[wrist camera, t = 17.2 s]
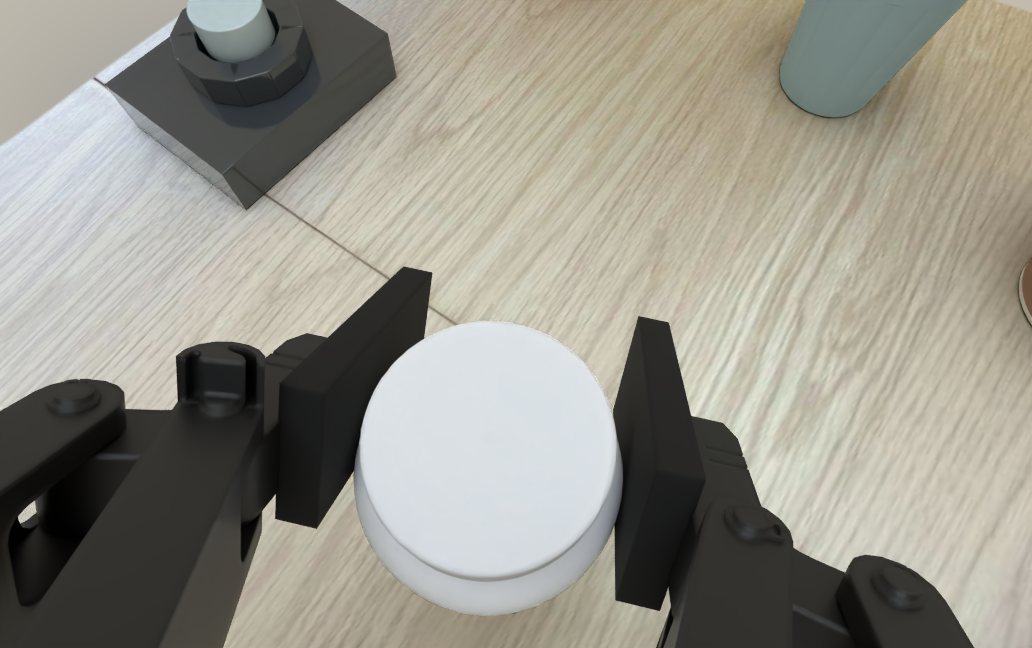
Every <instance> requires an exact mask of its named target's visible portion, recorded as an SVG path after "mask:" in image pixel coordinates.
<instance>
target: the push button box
mask: <svg viewBox="0 0 1032 648" xmlns="http://www.w3.org/2000/svg"><path fill="white" fill-rule="evenodd" d="M263 1H264V4H265V6H266V9H267V11H268V14H269V16H270V19H271V21H272V23H273V26H274V29H275V39H274V42H273V44H272V46H271V47H269V48H268V49H267V50H266V51H264V52H263V53H262V54H261V55H259V56H258V57H256V58H252V59H248V60H245V61H241V62H237V63H230V62H222V61H219V60H216V59H215V58H213V57H212V56H211V55H210V54H209V53H208V52H207V51H206V49H205V47H204V45H203V43H202V42H201V40H200V38H199V36H198V34H197V33H196V31H195V29H194V27H193V25H192V24H191V22H190V20H189V18H188V16H187V7H186V8H185V9H184V10H182V12H181V13H180V15H179V17H178V19H177V22H176V24H175V26H174V28H173V30H172V32H171V34H170V37H169V38H167V39H166V40H165V41H163V42H162V43H160V44H159V45H158V46H156V47H155V48H154V49H152V50H151V51H150V52H148V53H147V54H145V55H144V56H143V57H141V58H140V59H139V60H137V61H136V62H135V63H133V64H132V65H130V66H129V67H128V68H126V69H125V70H124V71H122V72H121V73H120V74H118V75H117V76H116V77H114V78H113V79H111V80H110V81H109V82H107V83H106V84H105V86H106V87H107V88H108V90H109V91H110V92H111V93H112V95H113V96H114V97H115V98H116V100H117V101H118V102H119V104H120V105H121V106H122V107H123V109H124V110H125V111H126V112H127V114H128V115H129V116H130V117H131V119H132V120H133V121H134V122H135V124H136V125H137V126H138V127H140V128H141V129H142V130H143V131H145V132H146V133H147V134H149V135H150V136H151V137H153V138H154V139H155V140H156V141H158V142H159V143H160V144H162V145H163V146H164V147H165V148H167V149H168V150H169V151H171V152H172V153H173V154H175V155H176V156H177V157H178V158H180V159H181V160H182V161H184V162H185V163H186V164H187V165H189V166H190V167H191V168H193V169H194V170H195V171H197V172H198V173H199V174H200V175H202V176H203V177H204V178H206V179H207V180H208V181H209V182H211V183H212V184H213V185H215V186H216V187H217V188H218V189H220V190H221V191H222V192H224V193H225V194H226V195H228V196H229V197H230V198H231V199H233V200H234V201H235V202H237V203H238V204H239V205H240V206H242V207H243V208H244V209H247V208H249V207H250V206H251V205H252V204H253V203H254V202H255V201H257V200H258V199H259V198H260V197H261V196H262V195H263V194H264V193H266V192H267V191H268V190H269V189H270V188H271V187H272V186H273V185H275V184H276V183H277V182H278V181H279V180H280V179H281V178H282V177H284V176H285V175H286V174H287V173H288V172H289V171H290V170H291V169H293V168H294V167H295V166H296V165H297V164H298V163H299V162H300V161H302V160H303V159H304V158H305V157H306V156H307V155H308V154H310V153H311V152H312V151H313V150H314V149H315V148H316V147H317V146H319V145H320V144H321V143H322V142H323V141H324V140H325V139H326V138H328V137H329V136H330V135H331V134H332V133H333V132H334V131H335V130H337V129H338V128H339V127H340V126H341V125H342V124H343V123H344V122H346V121H347V120H348V119H349V118H350V117H351V116H352V115H353V114H355V113H356V112H357V111H358V110H359V109H360V108H361V107H363V106H364V105H365V104H366V103H367V102H368V101H369V100H370V99H372V98H373V97H374V96H375V95H376V94H377V93H378V92H379V91H381V90H382V89H383V88H384V87H385V86H386V85H387V84H388V83H390V82H391V81H392V80H393V79H394V78H395V77H396V71H395V66H394V61H393V57H392V52H391V47H390V42H389V37H388V34H387V33H386V32H385V31H383V30H381V29H380V28H378V27H377V26H375V25H374V24H372V23H371V22H369V21H367V20H366V19H364V18H363V17H361V16H360V15H358V14H356V13H355V12H353V11H352V10H350V9H349V8H347V7H345V6H344V5H342V4H341V3H339V2H338V1H336V0H263Z"/></svg>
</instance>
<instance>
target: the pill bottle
mask: <svg viewBox="0 0 1032 648" xmlns="http://www.w3.org/2000/svg"><path fill="white" fill-rule="evenodd" d="M622 488H623V464H622V457H621V451H620V447H619V442H618V439H617V436H616V428H615V423H614V418H613V414H612V410H611V407H610V405H609V402H608V399H607V397H606V395H605V393H604V390H603V388H602V386H601V384H600V383H599V382H598V380H597V379H596V377H595V375H594V374H593V372H592V371H591V370H590V369H589V367H588V366H587V365H586V364H585V363H584V362H583V361H582V360H581V359H580V358H579V357H578V356H577V355H576V354H575V353H574V352H573V351H572V350H571V349H569V348H568V347H567V346H565V345H564V344H563V343H561V342H560V341H558V340H556V339H555V338H553V337H551V336H550V335H548V334H546V333H543V332H541V331H539V330H536V329H533V328H531V327H527V326H524V325H520V324H516V323H510V322H503V321H476V322H470V323H463V324H459V325H455V326H452V327H449V328H446V329H443V330H441V331H438V332H436V333H434V334H432V335H430V336H428V337H426V338H425V339H423V340H421V341H420V342H418V343H417V344H415V345H414V346H413V347H411V348H410V349H408V350H407V351H406V352H405V353H404V354H403V355H402V356H401V357H399V358H398V359H397V360H396V361H395V362H394V363H393V364H392V365H391V366H390V368H389V369H388V371H387V372H386V373H385V375H384V376H383V377H382V378H381V380H380V382H379V383H378V385H377V387H376V389H375V390H374V392H373V395H372V397H371V399H370V401H369V404H368V406H367V410H366V413H365V416H364V420H363V424H362V428H361V436H360V440H359V444H358V448H357V453H356V458H355V467H354V493H355V500H356V507H357V511H358V515H359V519H360V522H361V525H362V528H363V530H364V533H365V535H366V537H367V539H368V541H369V543H370V545H371V547H372V549H373V550H374V552H375V553H376V555H377V556H378V558H379V559H380V561H381V562H382V563H383V565H384V566H385V567H386V568H387V569H388V570H389V571H390V572H391V574H392V575H394V577H396V578H397V579H398V580H399V581H400V582H401V583H403V584H404V585H405V586H406V587H408V588H409V589H410V590H412V591H413V592H414V593H415V594H417V595H419V596H421V597H422V598H424V599H425V600H427V601H429V602H431V603H434V604H436V605H438V606H440V607H443V608H446V609H449V610H452V611H455V612H460V613H464V614H469V615H477V616H498V615H506V614H514V613H517V612H520V611H524V610H527V609H530V608H533V607H536V606H538V605H540V604H542V603H544V602H546V601H548V600H550V599H552V598H554V597H555V596H557V595H559V594H560V593H562V592H563V591H565V590H566V589H568V588H569V587H570V586H571V585H572V584H574V583H575V582H576V581H577V580H578V579H579V578H580V577H581V576H582V575H583V574H584V573H585V572H586V571H587V570H588V569H589V567H590V566H591V565H592V564H593V563H594V561H595V560H596V559H597V557H598V556H599V554H600V553H601V551H602V550H603V548H604V546H605V544H606V543H607V541H608V539H609V537H610V534H611V532H612V530H613V527H614V525H615V522H616V519H617V515H618V512H619V508H620V503H621V498H622Z"/></svg>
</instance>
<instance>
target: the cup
mask: <svg viewBox="0 0 1032 648" xmlns="http://www.w3.org/2000/svg"><path fill="white" fill-rule="evenodd" d="M966 1H967V0H806V2H805V4H804V7H803V9H802V12H801V15H800V17H799V20H798V22H797V25H796V28H795V30H794V33H793V35H792V38H791V41H790V43H789V46H788V48H787V51H786V53H785V56H784V59H783V61H782V64H781V67H780V82H781V85H782V88H783V89H784V91H785V93H786V94H787V96H788V97H789V98H790V99H791V100H792V101H793V102H794V103H795V104H797V105H798V106H799V107H801V108H802V109H804V110H806V111H808V112H810V113H813V114H816V115H820V116H824V117H843V116H848V115H851V114H853V113H855V112H857V111H858V110H860V109H862V108H863V107H864V106H865V105H866V104H867V103H868V102H869V101H870V100H871V99H872V98H873V97H874V96H875V95H876V94H877V93H878V92H879V91H880V90H881V89H882V88H883V87H884V86H885V85H886V84H887V83H888V82H889V81H890V80H891V79H892V78H893V77H894V76H895V75H896V73H897V72H898V71H899V70H900V69H901V68H902V67H903V66H904V65H905V64H906V63H907V62H908V61H909V60H910V59H911V58H912V57H913V56H914V55H915V54H916V53H917V52H918V51H919V50H920V49H921V48H922V47H923V46H924V45H925V44H926V43H927V41H928V40H929V39H930V38H931V37H932V36H933V35H934V34H935V33H936V32H937V31H938V30H939V29H940V28H941V27H942V26H943V25H944V24H945V23H946V22H947V21H948V20H949V19H950V18H951V17H952V16H953V15H954V14H955V13H956V12H957V11H958V9H959V8H960V7H961V6H962V5H963V4H964V3H965V2H966Z"/></svg>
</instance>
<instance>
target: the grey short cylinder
mask: <svg viewBox="0 0 1032 648" xmlns="http://www.w3.org/2000/svg"><path fill="white" fill-rule="evenodd" d="M187 16H188V18H189V20H190V22H191V24H192V25H193V27H194V29H195V31H196V33H197V34H198V36H199V38H200V40H201V42H202V43H203V45H204V47H205V49H206V51H207V52H208V53H209V54H210V55H211V56H212V57H213V58H215V59H216V60H219V61H222V62H230V63H237V62H241V61H245V60H248V59H252V58H256V57H258V56H259V55H261V54H262V53H263V52H264V51H266V50H267V49H268V48H269V47H271V46H272V44H273V42H274V39H275V29H274V26H273V23H272V21H271V19H270V16H269V14H268V11H267V9H266V6H265V4H264V1H263V0H188V3H187Z"/></svg>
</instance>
